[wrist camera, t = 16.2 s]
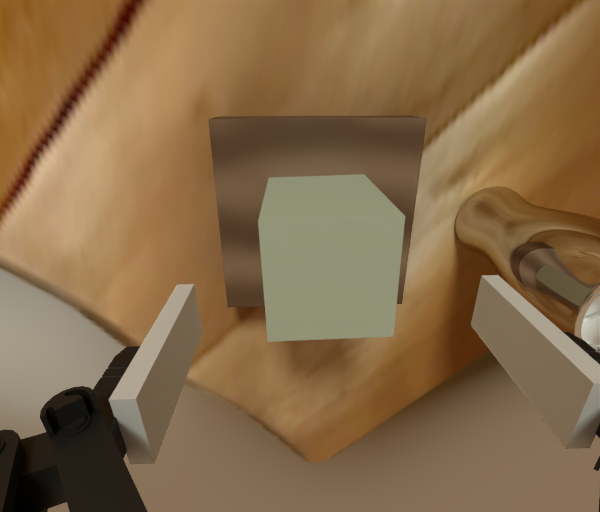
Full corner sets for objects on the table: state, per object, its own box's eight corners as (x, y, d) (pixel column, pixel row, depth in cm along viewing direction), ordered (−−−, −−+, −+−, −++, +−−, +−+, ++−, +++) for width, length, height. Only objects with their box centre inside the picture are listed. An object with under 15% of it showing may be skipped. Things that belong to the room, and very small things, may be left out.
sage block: (268, 177, 26) (257, 221, 17) (364, 174, 26) (405, 216, 17) (274, 264, 29) (267, 341, 20) (360, 260, 29) (393, 336, 20)
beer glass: (482, 166, 29) (650, 228, 16) (545, 202, 31) (749, 287, 17) (434, 237, 32) (542, 343, 18) (494, 266, 33) (636, 386, 20)
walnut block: (219, 116, 28) (208, 119, 24) (408, 115, 28) (426, 118, 24) (234, 284, 34) (227, 307, 30) (389, 281, 34) (401, 303, 31)
